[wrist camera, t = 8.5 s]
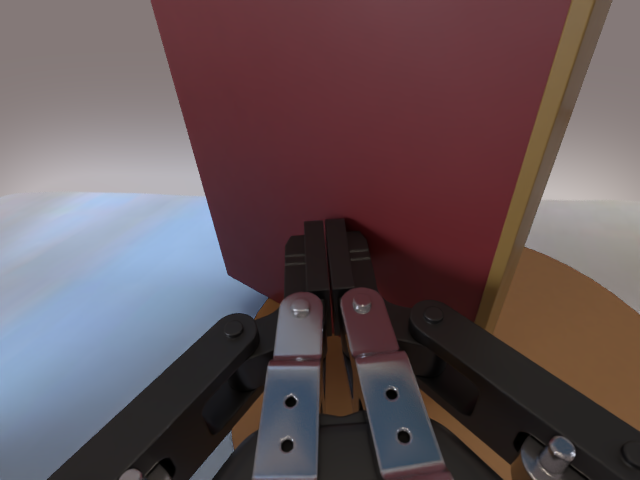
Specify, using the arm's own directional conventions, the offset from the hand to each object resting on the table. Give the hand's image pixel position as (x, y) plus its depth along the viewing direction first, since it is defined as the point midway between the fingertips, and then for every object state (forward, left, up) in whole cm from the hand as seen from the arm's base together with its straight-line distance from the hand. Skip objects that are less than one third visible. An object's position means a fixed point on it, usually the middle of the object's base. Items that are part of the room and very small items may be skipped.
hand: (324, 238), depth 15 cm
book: (-4, 0, -8) cm, 9 cm away
